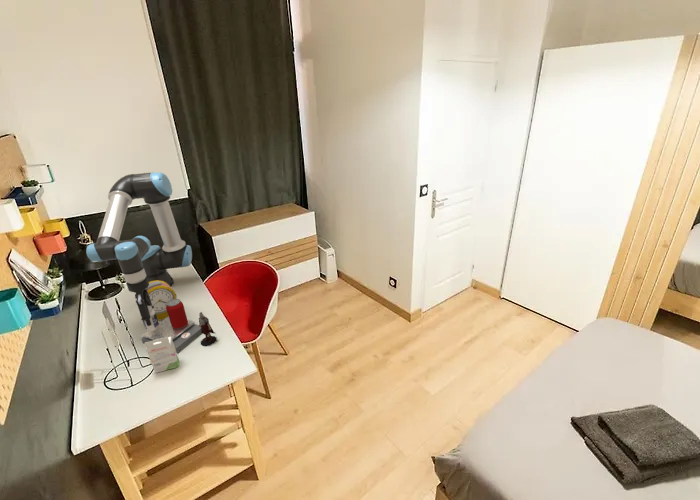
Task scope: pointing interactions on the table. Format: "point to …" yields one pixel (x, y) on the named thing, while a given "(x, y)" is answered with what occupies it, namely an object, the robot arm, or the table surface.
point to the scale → (182, 337)
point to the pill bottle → (153, 316)
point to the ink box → (162, 354)
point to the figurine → (206, 331)
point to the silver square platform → (166, 330)
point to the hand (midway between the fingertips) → (152, 326)
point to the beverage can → (176, 313)
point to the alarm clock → (160, 297)
